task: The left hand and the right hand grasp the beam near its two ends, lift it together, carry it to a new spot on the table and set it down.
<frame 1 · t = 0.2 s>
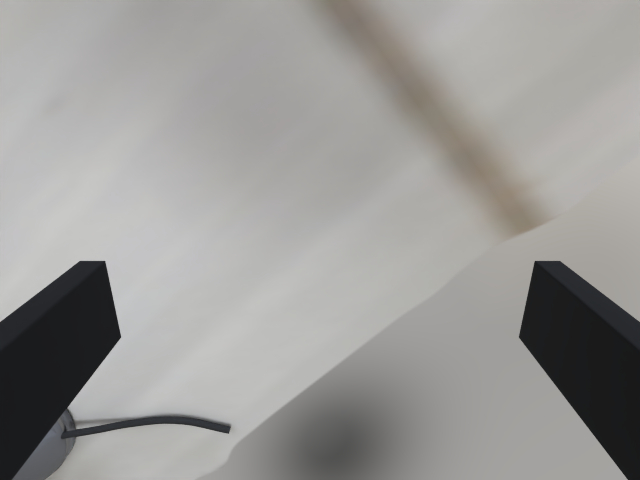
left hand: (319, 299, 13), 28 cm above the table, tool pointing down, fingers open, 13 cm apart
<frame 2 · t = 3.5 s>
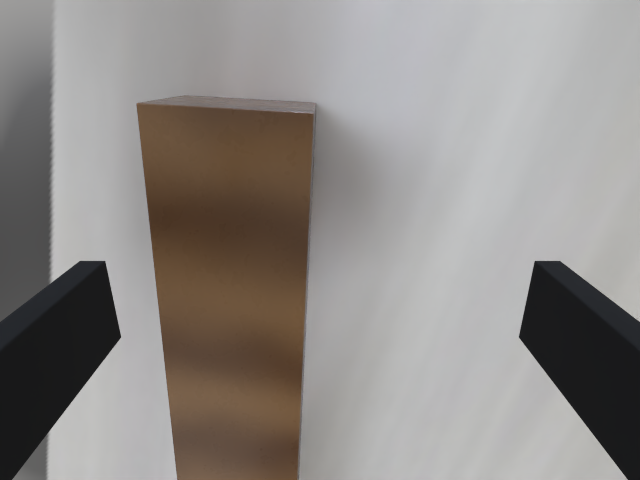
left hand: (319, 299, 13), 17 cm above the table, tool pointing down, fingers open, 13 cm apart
beam: (254, 460, 39), on the table, touching right hand
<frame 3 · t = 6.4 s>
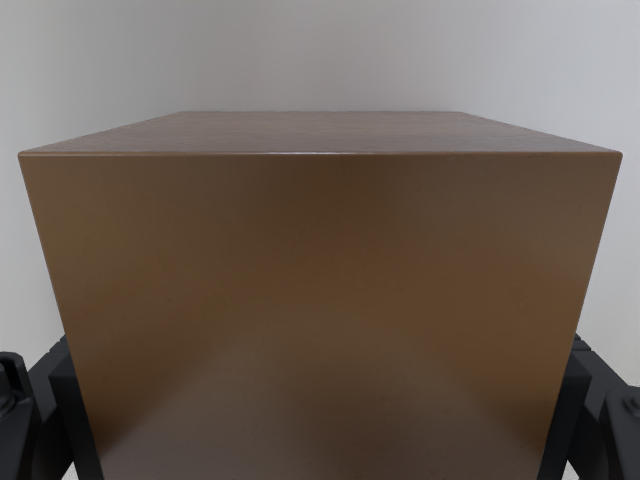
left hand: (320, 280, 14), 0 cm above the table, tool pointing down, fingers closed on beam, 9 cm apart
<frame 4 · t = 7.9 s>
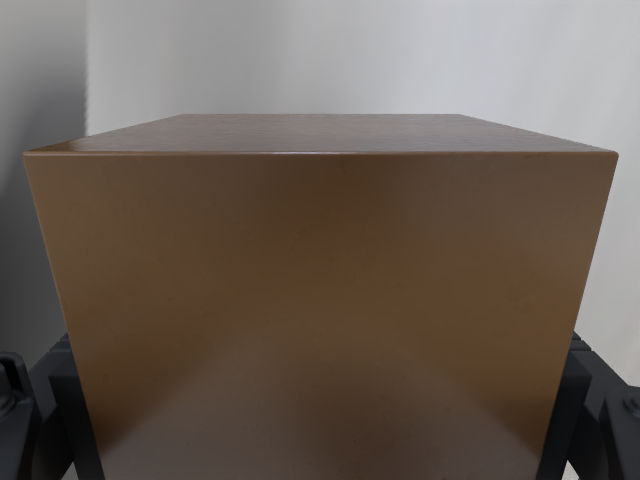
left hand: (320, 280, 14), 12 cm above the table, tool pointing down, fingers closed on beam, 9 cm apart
when the left hand's fingers open (1 cm above the table, at t = 12.3 s): beam stays where it is, on the table.
when the right hand's fingers open (1 cm above the table, at t = 12.4 s): beam stays where it is, on the table.
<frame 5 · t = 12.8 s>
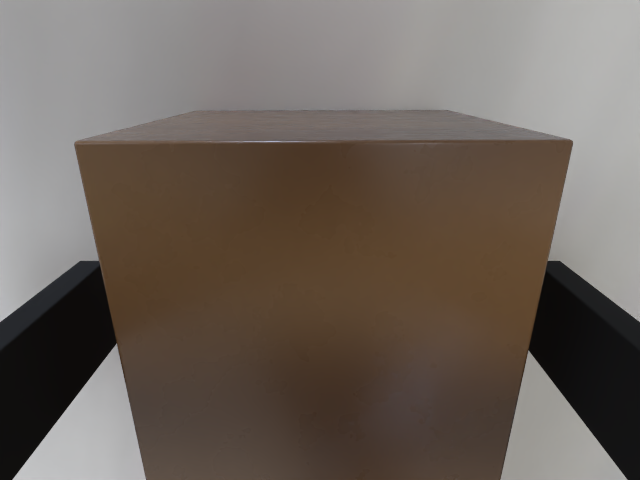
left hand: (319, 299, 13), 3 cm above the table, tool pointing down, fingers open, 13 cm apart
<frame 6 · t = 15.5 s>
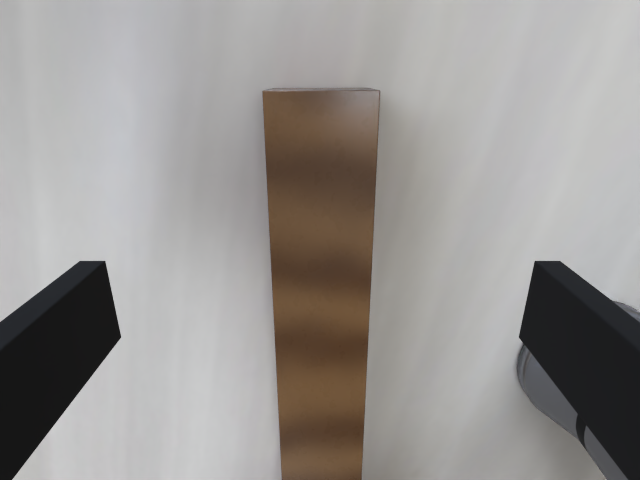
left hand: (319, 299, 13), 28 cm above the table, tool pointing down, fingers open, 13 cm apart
beam: (321, 379, 48), on the table
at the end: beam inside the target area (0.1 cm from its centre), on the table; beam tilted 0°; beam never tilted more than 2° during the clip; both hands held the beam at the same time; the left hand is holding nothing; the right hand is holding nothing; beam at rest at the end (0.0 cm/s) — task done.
